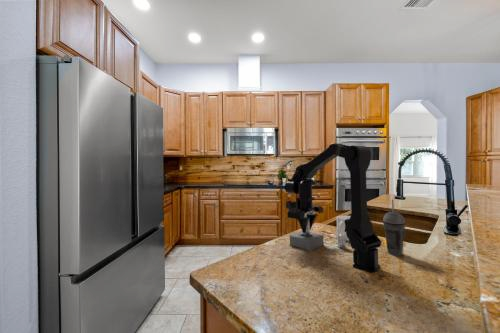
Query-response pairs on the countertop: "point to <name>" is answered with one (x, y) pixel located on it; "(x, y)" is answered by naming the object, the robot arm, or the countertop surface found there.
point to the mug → (342, 225)
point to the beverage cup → (394, 231)
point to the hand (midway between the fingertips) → (306, 231)
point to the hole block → (306, 240)
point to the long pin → (307, 230)
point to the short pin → (341, 241)
